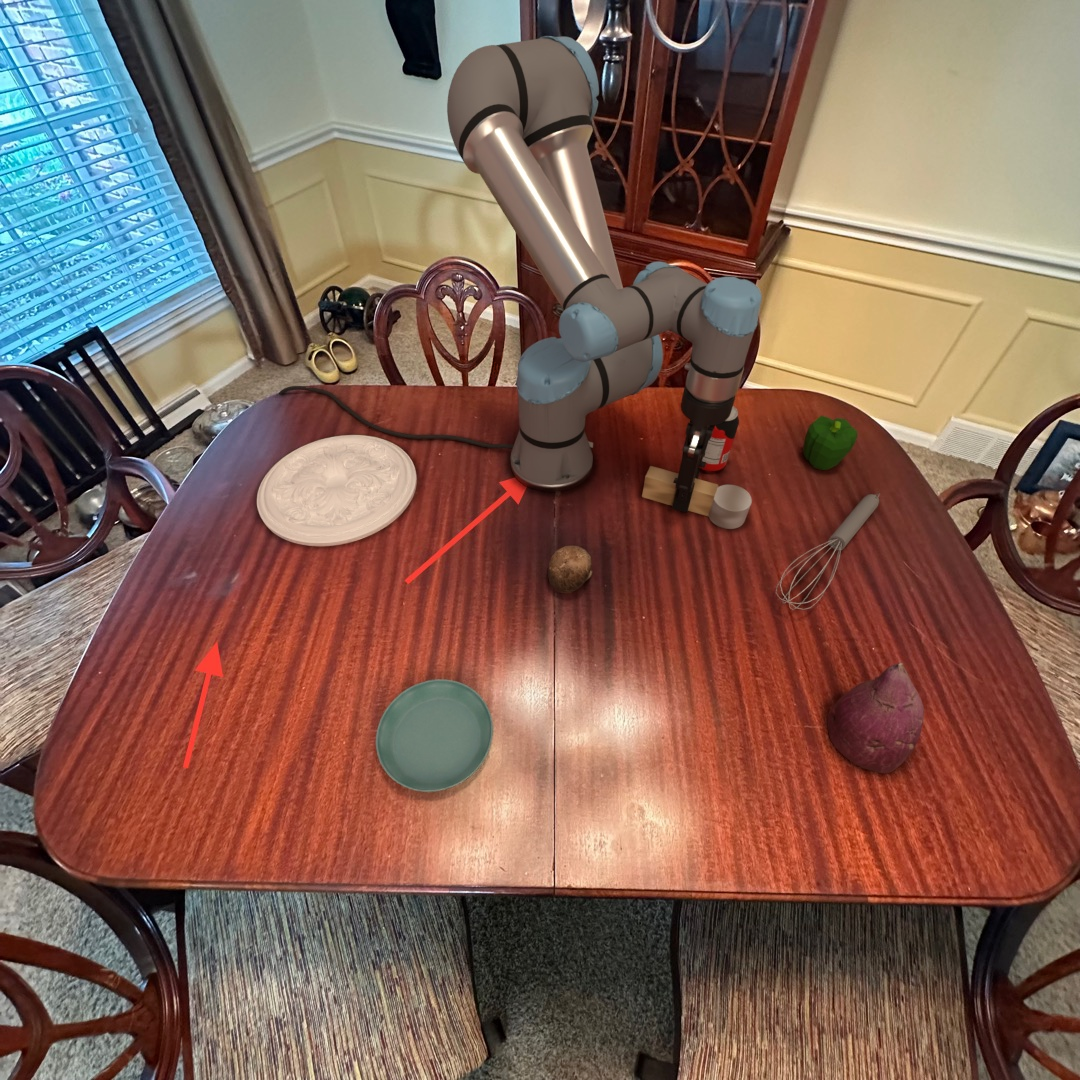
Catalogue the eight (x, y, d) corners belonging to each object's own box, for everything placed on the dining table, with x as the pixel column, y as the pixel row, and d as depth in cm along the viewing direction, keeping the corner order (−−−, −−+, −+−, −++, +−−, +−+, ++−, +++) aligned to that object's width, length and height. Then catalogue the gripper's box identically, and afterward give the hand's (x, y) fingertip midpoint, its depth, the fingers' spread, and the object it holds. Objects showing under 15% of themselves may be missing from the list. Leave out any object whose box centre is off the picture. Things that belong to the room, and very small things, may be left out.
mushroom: (611, 559, 93) (589, 541, 89) (592, 606, 91) (569, 589, 87) (573, 553, 99) (551, 536, 95) (555, 597, 97) (531, 581, 93)
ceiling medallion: (425, 528, 102) (422, 516, 100) (253, 560, 98) (246, 547, 95) (408, 428, 120) (405, 415, 118) (262, 451, 116) (256, 438, 113)
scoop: (638, 503, 106) (642, 482, 102) (649, 480, 110) (653, 459, 106) (741, 533, 101) (748, 513, 98) (748, 508, 105) (756, 488, 101)
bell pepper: (809, 440, 117) (828, 397, 110) (850, 459, 113) (871, 416, 106) (788, 461, 113) (805, 418, 106) (829, 482, 110) (850, 439, 102)
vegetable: (810, 714, 83) (823, 637, 75) (886, 704, 83) (907, 625, 74) (846, 782, 75) (864, 703, 66) (930, 771, 74) (960, 690, 66)
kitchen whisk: (891, 507, 105) (907, 480, 101) (799, 627, 89) (813, 603, 84) (857, 490, 108) (871, 464, 103) (762, 604, 92) (774, 579, 87)
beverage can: (732, 464, 113) (749, 412, 104) (710, 479, 110) (726, 427, 101) (706, 447, 116) (720, 395, 107) (684, 461, 113) (696, 409, 104)
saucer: (434, 825, 71) (431, 818, 69) (356, 746, 77) (351, 737, 75) (517, 734, 78) (516, 725, 76) (440, 668, 85) (437, 658, 83)
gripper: (698, 356, 94) (673, 468, 112) (670, 414, 85) (649, 526, 102) (746, 366, 92) (713, 479, 110) (724, 427, 83) (692, 540, 100)
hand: (682, 502), depth 106 cm, fingers closed on scoop, 3 cm apart
